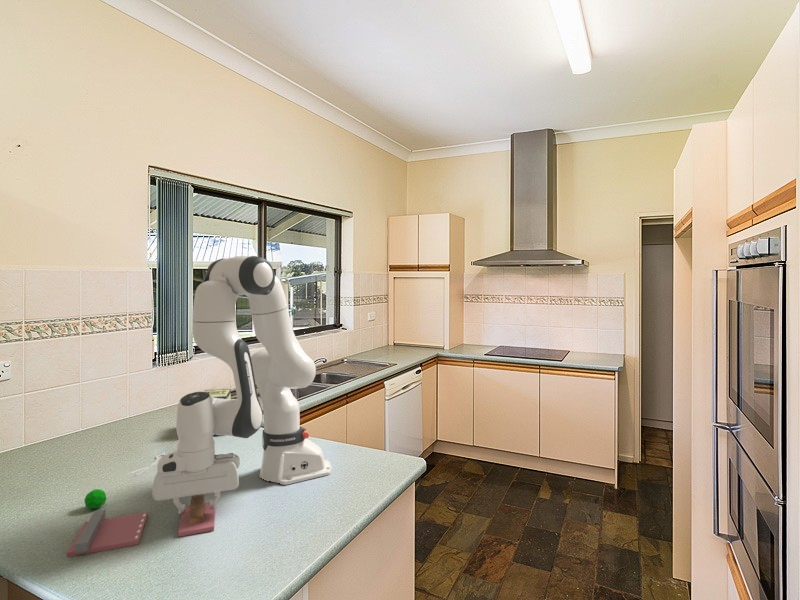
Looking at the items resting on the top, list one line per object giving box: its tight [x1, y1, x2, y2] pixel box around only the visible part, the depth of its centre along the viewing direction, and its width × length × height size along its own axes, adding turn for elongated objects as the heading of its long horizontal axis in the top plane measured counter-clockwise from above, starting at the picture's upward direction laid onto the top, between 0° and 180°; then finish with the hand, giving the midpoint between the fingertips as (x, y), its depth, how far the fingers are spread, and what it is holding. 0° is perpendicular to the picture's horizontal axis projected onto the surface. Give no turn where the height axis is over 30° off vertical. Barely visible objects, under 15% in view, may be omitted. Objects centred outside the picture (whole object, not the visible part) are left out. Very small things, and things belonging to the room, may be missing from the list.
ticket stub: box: [177, 494, 216, 538], centre depth 119 cm, size 8×14×6 cm, turn 20°
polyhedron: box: [84, 488, 107, 510], centre depth 126 cm, size 5×5×5 cm
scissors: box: [122, 451, 166, 478], centre depth 155 cm, size 11×1×20 cm
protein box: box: [203, 388, 232, 437], centre depth 190 cm, size 10×16×16 cm
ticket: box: [66, 509, 149, 558], centre depth 113 cm, size 14×16×3 cm
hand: (197, 510), depth 119 cm, fingers open, 6 cm apart
